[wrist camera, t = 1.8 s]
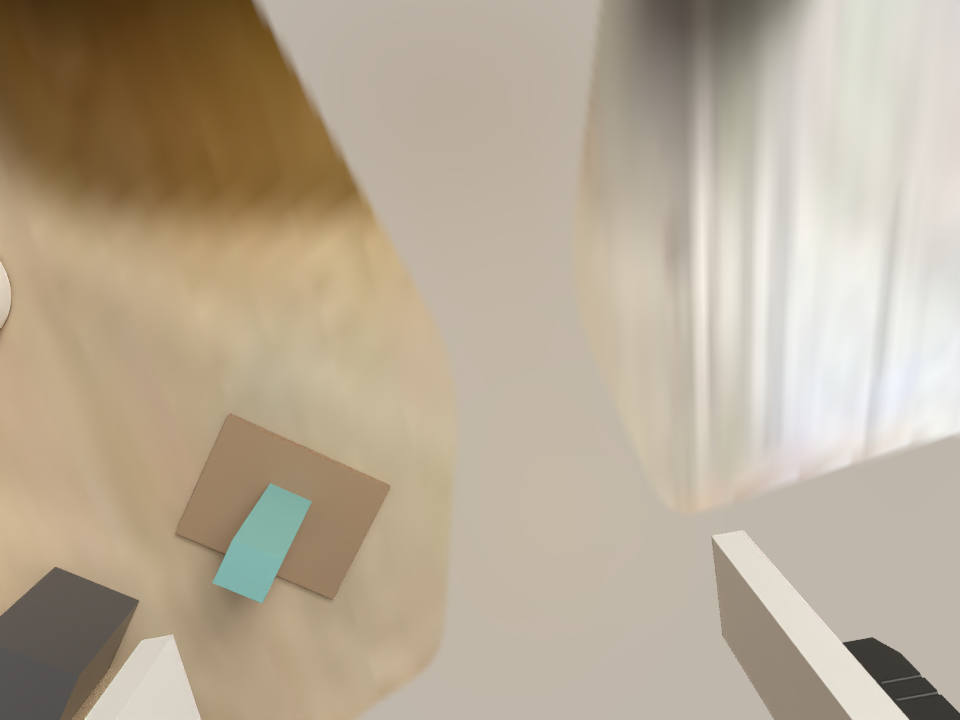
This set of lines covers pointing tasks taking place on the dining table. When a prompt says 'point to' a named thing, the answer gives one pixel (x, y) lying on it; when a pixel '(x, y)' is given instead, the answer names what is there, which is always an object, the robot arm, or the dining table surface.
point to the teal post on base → (279, 512)
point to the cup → (4, 295)
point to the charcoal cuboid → (58, 645)
